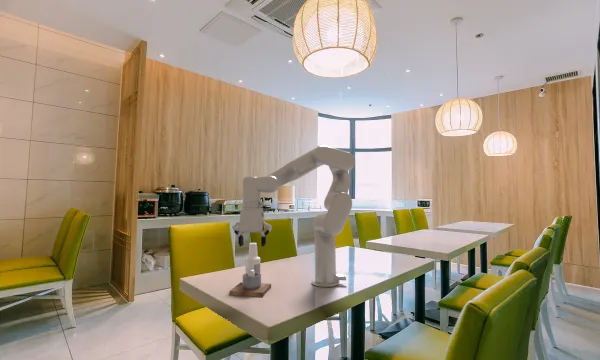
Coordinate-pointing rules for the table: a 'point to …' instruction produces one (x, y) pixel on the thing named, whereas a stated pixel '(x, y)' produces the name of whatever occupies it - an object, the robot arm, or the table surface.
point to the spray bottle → (252, 259)
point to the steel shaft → (251, 272)
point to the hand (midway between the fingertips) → (252, 245)
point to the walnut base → (257, 292)
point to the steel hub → (251, 281)
